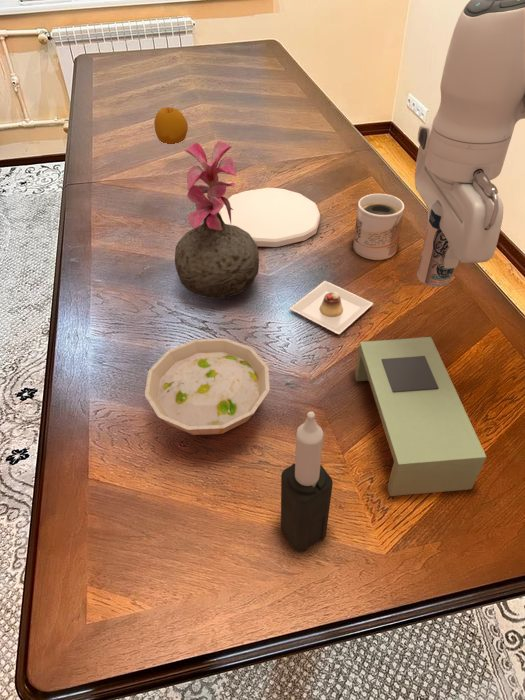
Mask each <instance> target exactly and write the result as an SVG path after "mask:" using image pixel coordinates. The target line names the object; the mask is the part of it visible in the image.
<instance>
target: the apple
mask: <svg viewBox="0 0 525 700" xmlns="http://www.w3.org/2000/svg"><path fill="white" fill-rule="evenodd" d="M153 124H154V131H155V134H156V137H157V139H158V140H159V142H160V141H161V142H163V143H167V144H175V143H179V142H181V141H183V140H184V141H185V139H186V136H187V134H188V130H189V123H188V121H187V119H186V117H185V115H184V114H183V112H182V111H181V110H179V109H177V108H175V107H167V106H166V107H161V108H160V109H159V110H158V111H157V113H156V115H155V118H154V121H153ZM161 142H160V143H161Z"/></svg>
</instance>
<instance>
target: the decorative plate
mask: <svg viewBox="0 0 525 700" xmlns="http://www.w3.org/2000/svg"><path fill="white" fill-rule="evenodd" d="M227 199H228V200H229V202H230V206H231V208H232V209H233V210H231V223H230V219H229V215H228V212H227V208H226V206H225V205H224V204H223V208H222V209H221V210H220V211H219V214H220V215H221V217H222V220H223V221H224V223H225V224H229V225H234V226H237V227H239V228H241V229H243V230H244V231H246V232H247V233H249V234H250V236H251V237H252V239H253V240H254V242H255V243H256V245H257V247H263V248H279V247H282V246H288V245H292V244H296V243H300V242H304V241H306V240H308V239H309V238H311V237H312V236H314V235H316V234H317V232H318V228H319V225H320V223H321V214H320V211H319V208H318V205H317V204H316V203H315V202H314V201H312V200H311V199H309V198H308V197H306V196H305V195H304V194H301V193H299V192H296V191H292V190H288V189H285V188H277V187H263V188H256V189H250V190H244V191H241V192H238V193H235V194H232V195H231V196H229V197H228V198H227Z"/></svg>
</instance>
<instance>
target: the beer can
mask: <svg viewBox="0 0 525 700" xmlns="http://www.w3.org/2000/svg"><path fill="white" fill-rule="evenodd" d="M441 217H442V206H441V205H440V204H439V203H438V200H437V201H436V203H435V204H433V205H432V209H431V214H430V218H429V222H428V221H427V227H426V230H425V231H426V232H425V236H424V241H423V245H422V250H421V255H420V259H419V263H418V268H417V272H416V277H417V279H418V280H419V282H421V283H422V284H425V285H426V286H428V287H430V288H431V287H432V288H442V287H446V286H448V285H449V284H451V282H452V280H453V276H454V272H455V269H456V267H455V268H448V269H446V268H444V266H443V264H442V262H441V258H442V253H443V251H447V250H448V249H449V246H448V240H447V239H446V237H445V235H444V234H443V232H442V230H441V229H440V220H441Z"/></svg>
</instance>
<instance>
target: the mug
mask: <svg viewBox="0 0 525 700" xmlns="http://www.w3.org/2000/svg"><path fill="white" fill-rule="evenodd" d="M356 209H357V210H356V220H355V227H354V235H353V236H354V237H353V243H352V245H353V246H352V247H353V251H354V252H355V253H356V254H357V255H359V256H360V257H361V258H363V259H367V260H373V261H381V260H382V261H383V260H387V259H389V258H392V257H394V256H395V254H396V253H397V251H398V245H399V240H400V234H401V229H402V223H403V217H404V212H405V203H404V202H403V201H402V200H401V199H400V198H398V197H396V196H395V195H392V194H387V193H370V194H366V195H364V196H362V197H361V198H360V199H359V200H358V202H357V208H356Z"/></svg>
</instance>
